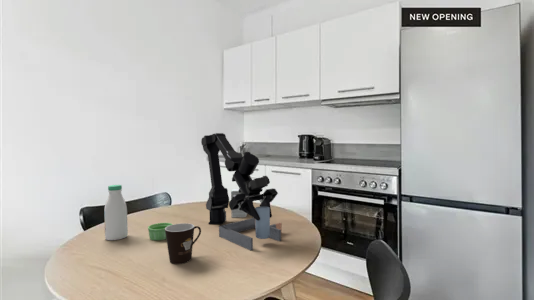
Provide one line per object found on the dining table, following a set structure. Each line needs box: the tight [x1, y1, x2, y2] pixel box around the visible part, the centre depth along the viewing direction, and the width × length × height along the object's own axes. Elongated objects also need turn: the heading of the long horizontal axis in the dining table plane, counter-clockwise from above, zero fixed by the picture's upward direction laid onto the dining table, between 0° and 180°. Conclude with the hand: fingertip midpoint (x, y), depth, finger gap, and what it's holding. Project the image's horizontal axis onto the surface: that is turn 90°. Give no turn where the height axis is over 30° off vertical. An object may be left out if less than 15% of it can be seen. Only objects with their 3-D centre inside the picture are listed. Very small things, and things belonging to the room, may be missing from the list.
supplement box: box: [230, 188, 248, 218], centre depth 140 cm, size 7×7×13 cm
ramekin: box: [147, 222, 174, 241], centre depth 110 cm, size 9×9×4 cm
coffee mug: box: [165, 222, 202, 265], centre depth 89 cm, size 12×9×10 cm
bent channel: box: [218, 217, 283, 251], centre depth 109 cm, size 20×20×4 cm
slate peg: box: [255, 206, 271, 240], centre depth 101 cm, size 5×5×10 cm
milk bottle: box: [103, 184, 129, 241], centre depth 111 cm, size 8×8×20 cm
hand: (265, 218), depth 99 cm, fingers closed on slate peg, 5 cm apart
